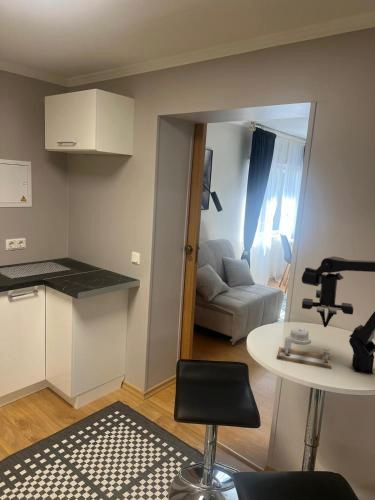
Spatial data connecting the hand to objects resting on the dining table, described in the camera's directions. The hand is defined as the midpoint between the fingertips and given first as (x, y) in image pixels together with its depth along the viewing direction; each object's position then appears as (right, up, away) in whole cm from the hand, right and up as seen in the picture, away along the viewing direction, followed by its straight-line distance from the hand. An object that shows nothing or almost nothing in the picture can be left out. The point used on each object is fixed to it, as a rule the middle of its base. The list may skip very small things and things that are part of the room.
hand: (324, 326), depth 148 cm
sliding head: (-15, -10, 0) cm, 18 cm away
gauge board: (-9, -12, -2) cm, 15 cm away
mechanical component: (-5, -10, +16) cm, 20 cm away
